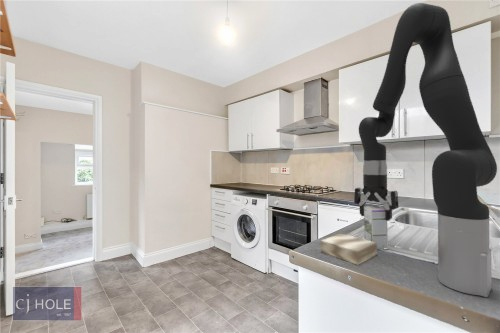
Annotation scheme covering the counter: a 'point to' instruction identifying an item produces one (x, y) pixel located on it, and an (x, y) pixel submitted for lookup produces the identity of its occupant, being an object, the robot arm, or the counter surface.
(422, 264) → the counter surface
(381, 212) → the syrup box
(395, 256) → the counter surface
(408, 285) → the counter surface
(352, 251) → the beige flat block
